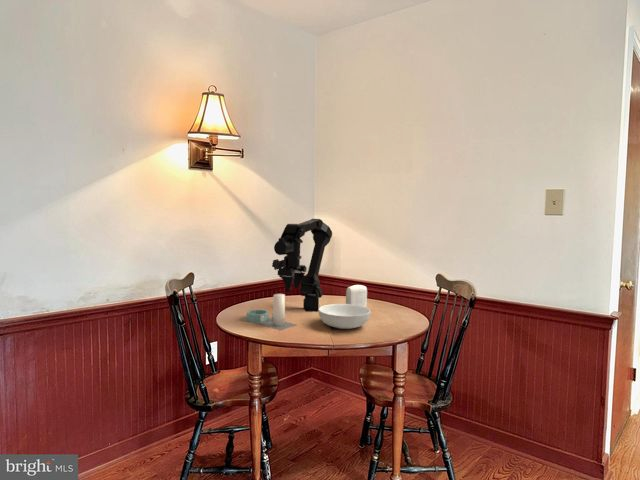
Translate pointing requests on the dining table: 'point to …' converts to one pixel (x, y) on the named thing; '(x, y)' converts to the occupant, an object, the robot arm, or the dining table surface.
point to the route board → (271, 323)
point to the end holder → (257, 315)
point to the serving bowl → (344, 315)
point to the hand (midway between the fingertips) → (291, 290)
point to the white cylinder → (278, 309)
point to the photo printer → (356, 295)
